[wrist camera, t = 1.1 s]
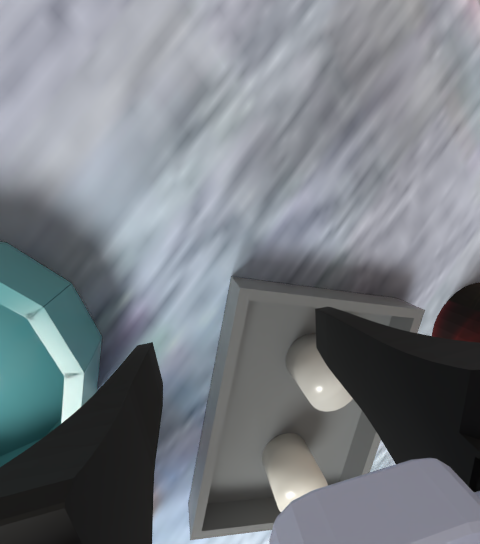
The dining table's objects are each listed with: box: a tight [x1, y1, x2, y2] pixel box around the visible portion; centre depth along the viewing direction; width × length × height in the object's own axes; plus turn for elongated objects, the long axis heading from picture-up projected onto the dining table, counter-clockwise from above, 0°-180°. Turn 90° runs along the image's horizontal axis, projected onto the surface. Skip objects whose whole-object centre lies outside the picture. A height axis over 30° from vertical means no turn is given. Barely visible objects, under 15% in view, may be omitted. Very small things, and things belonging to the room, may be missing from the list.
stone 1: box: [286, 334, 353, 412], centre depth 22 cm, size 4×4×4 cm
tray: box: [188, 277, 425, 540], centre depth 25 cm, size 22×16×3 cm
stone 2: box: [262, 433, 328, 512], centre depth 24 cm, size 4×4×4 cm
